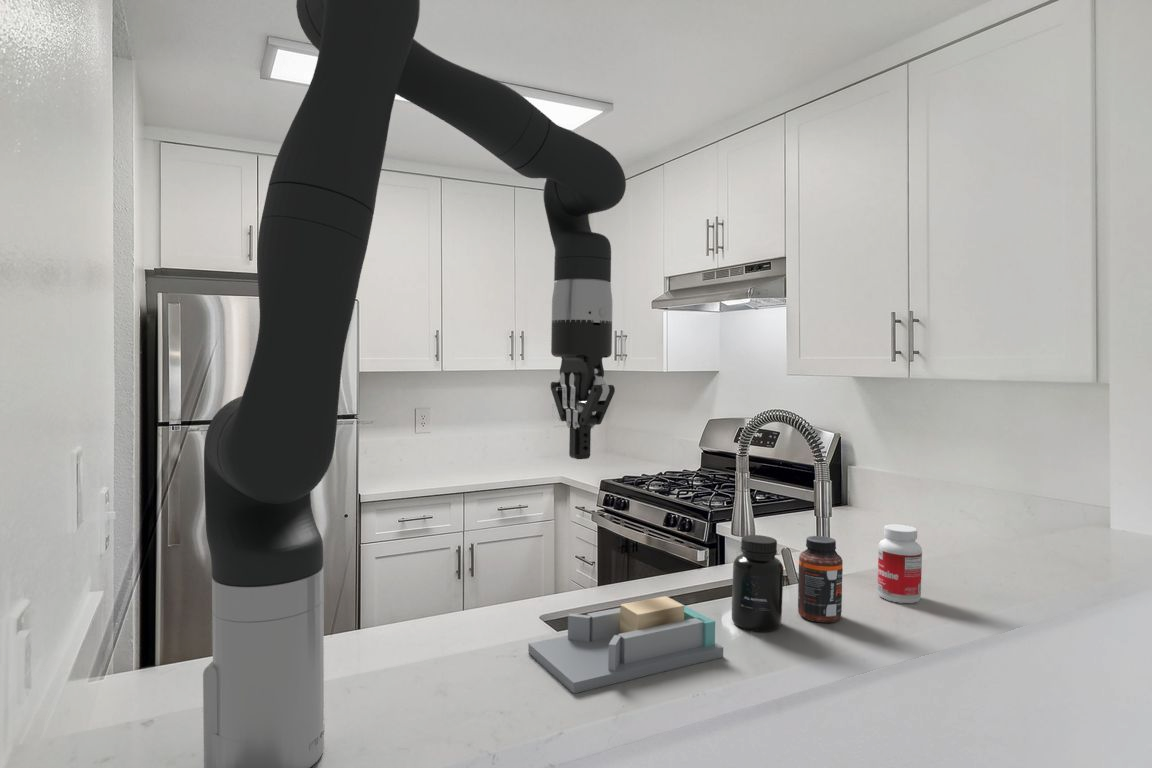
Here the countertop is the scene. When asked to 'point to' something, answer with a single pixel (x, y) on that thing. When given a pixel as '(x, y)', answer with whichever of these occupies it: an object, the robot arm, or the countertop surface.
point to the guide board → (623, 649)
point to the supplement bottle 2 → (820, 581)
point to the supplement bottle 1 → (757, 585)
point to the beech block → (649, 613)
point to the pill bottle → (899, 565)
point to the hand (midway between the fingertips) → (579, 458)
